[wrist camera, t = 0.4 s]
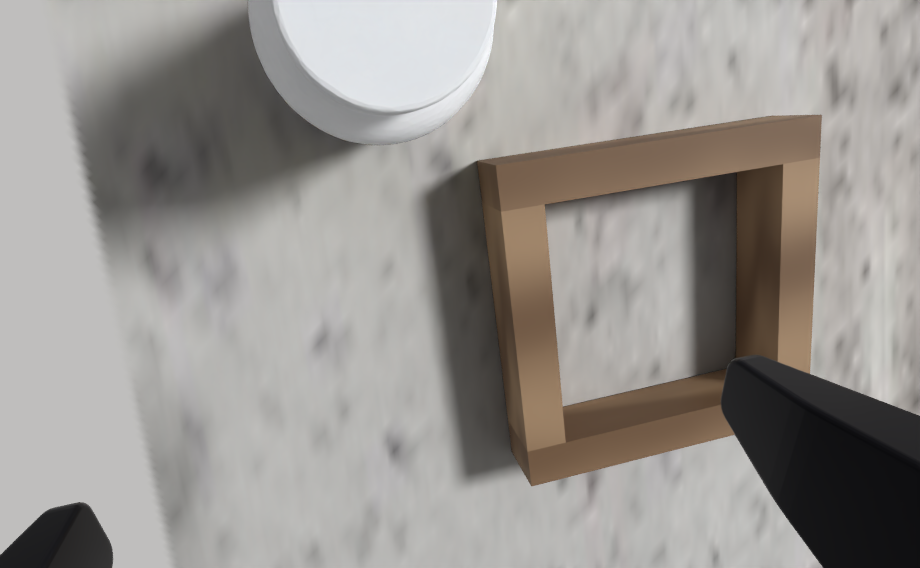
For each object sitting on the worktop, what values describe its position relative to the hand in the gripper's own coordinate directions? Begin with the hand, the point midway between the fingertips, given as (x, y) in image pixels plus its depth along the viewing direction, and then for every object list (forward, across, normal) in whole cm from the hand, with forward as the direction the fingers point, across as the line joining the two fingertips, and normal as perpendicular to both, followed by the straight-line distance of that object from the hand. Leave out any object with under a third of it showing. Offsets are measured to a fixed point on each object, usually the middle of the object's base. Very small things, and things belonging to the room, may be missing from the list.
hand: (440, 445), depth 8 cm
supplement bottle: (+15, -1, -3) cm, 15 cm away
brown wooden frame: (+12, -10, +6) cm, 17 cm away
